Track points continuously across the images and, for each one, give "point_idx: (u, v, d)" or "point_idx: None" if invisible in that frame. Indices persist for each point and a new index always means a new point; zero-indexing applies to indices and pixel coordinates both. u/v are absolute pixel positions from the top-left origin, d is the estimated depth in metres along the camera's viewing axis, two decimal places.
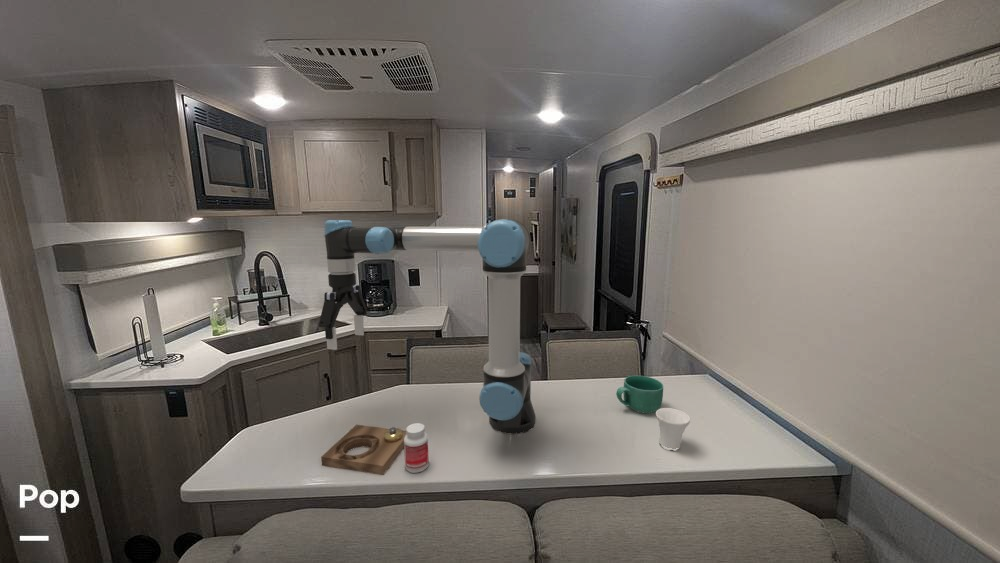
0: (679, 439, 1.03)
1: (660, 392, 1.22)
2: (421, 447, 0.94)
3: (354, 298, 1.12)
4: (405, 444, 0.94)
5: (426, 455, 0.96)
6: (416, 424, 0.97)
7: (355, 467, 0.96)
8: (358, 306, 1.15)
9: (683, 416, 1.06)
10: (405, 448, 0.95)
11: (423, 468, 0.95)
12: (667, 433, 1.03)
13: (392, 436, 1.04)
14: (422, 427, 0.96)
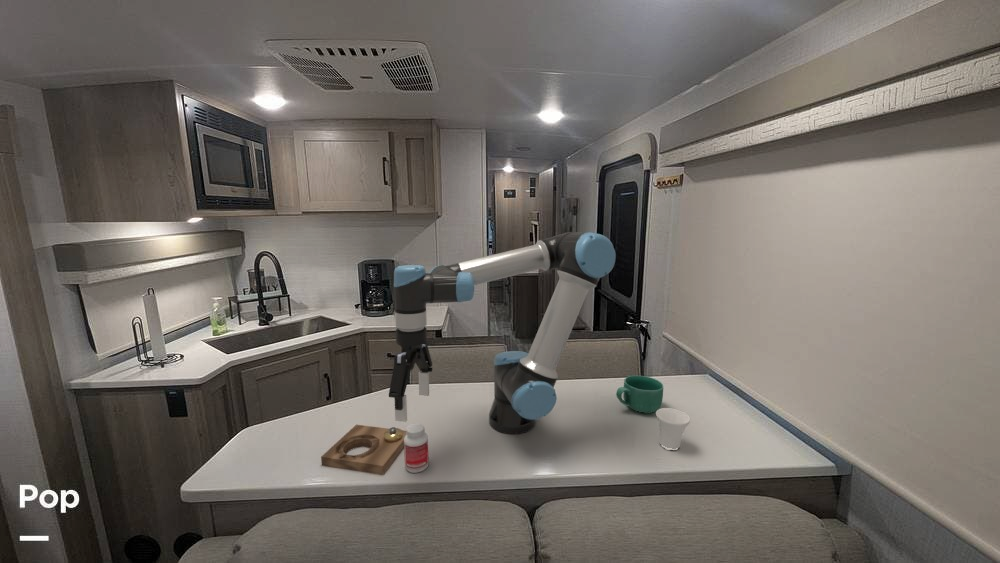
0: (679, 439, 1.03)
1: (660, 392, 1.22)
2: (421, 447, 0.94)
3: (422, 355, 0.95)
4: (405, 444, 0.94)
5: (426, 455, 0.96)
6: (416, 424, 0.97)
7: (355, 467, 0.96)
8: (425, 363, 0.98)
9: (683, 416, 1.06)
10: (405, 448, 0.95)
11: (423, 468, 0.95)
12: (667, 433, 1.03)
13: (392, 436, 1.04)
14: (422, 427, 0.96)
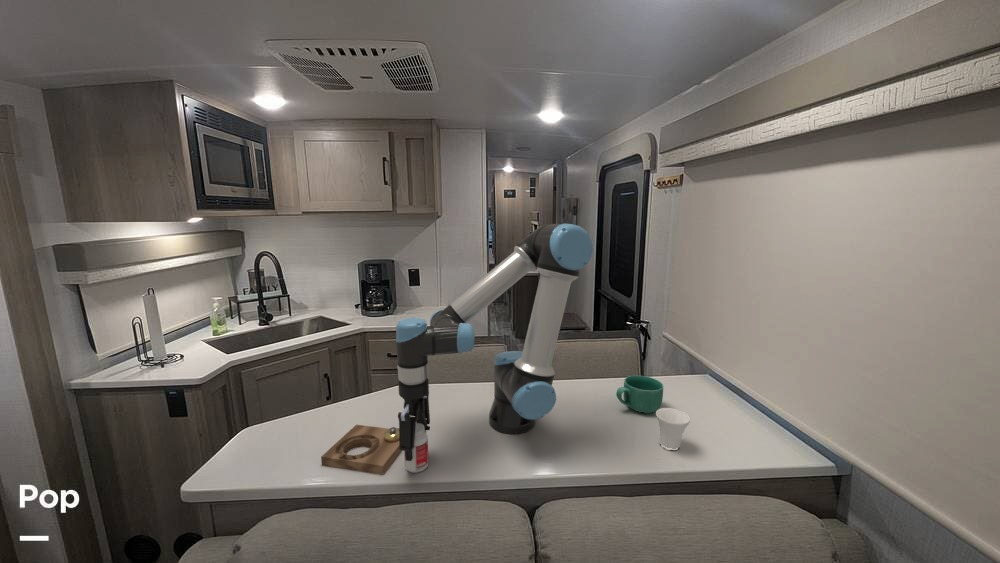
0: (679, 439, 1.03)
1: (660, 392, 1.22)
2: (421, 447, 0.94)
3: (424, 407, 0.97)
4: None
5: (426, 455, 0.96)
6: (416, 424, 0.97)
7: (355, 467, 0.96)
8: (424, 418, 0.98)
9: (683, 416, 1.06)
10: None
11: (423, 468, 0.95)
12: (667, 433, 1.03)
13: (392, 436, 1.04)
14: (422, 427, 0.96)
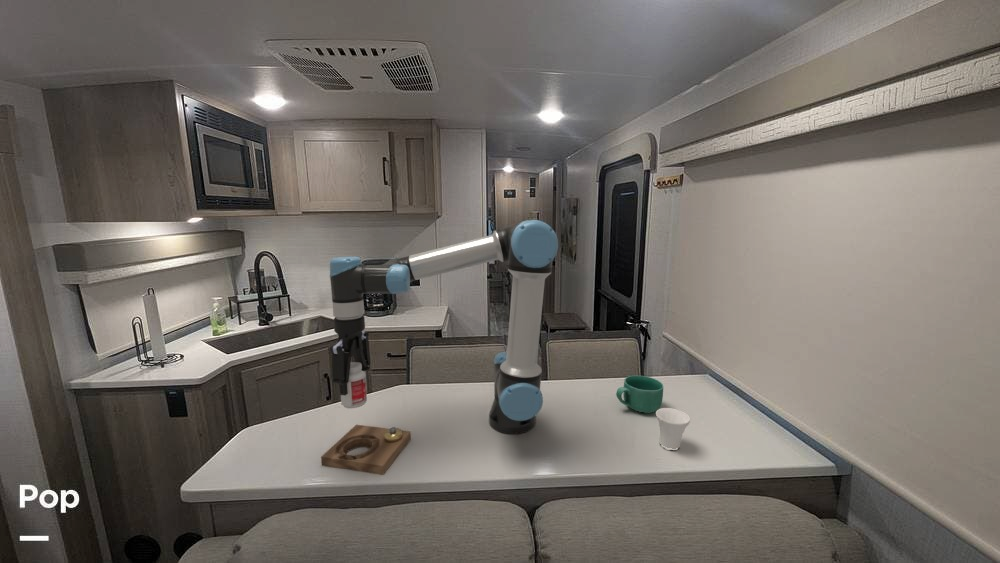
0: (679, 439, 1.03)
1: (660, 392, 1.22)
2: (357, 383, 0.96)
3: (361, 346, 0.99)
4: None
5: (363, 392, 0.98)
6: (353, 363, 0.99)
7: (355, 467, 0.96)
8: (363, 358, 1.01)
9: (683, 416, 1.06)
10: None
11: (359, 404, 0.97)
12: (667, 433, 1.03)
13: (392, 436, 1.04)
14: (359, 364, 0.98)
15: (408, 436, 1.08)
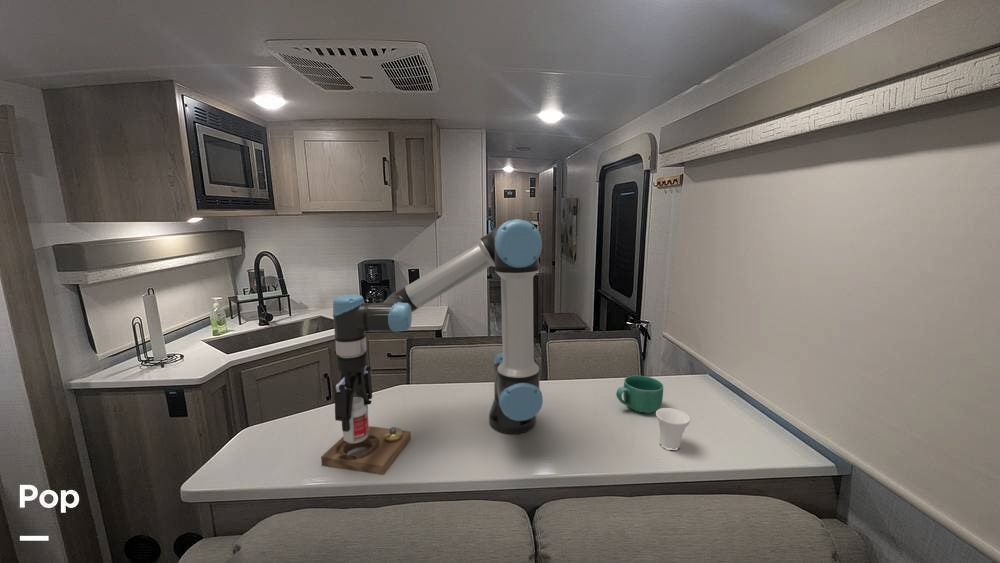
0: (679, 439, 1.03)
1: (660, 392, 1.22)
2: (359, 419, 0.98)
3: (363, 381, 1.00)
4: None
5: (364, 427, 1.00)
6: (355, 398, 1.01)
7: (355, 467, 0.96)
8: (364, 392, 1.02)
9: (683, 416, 1.06)
10: None
11: (361, 439, 0.99)
12: (667, 433, 1.03)
13: (392, 436, 1.04)
14: (361, 400, 1.00)
15: (408, 436, 1.08)
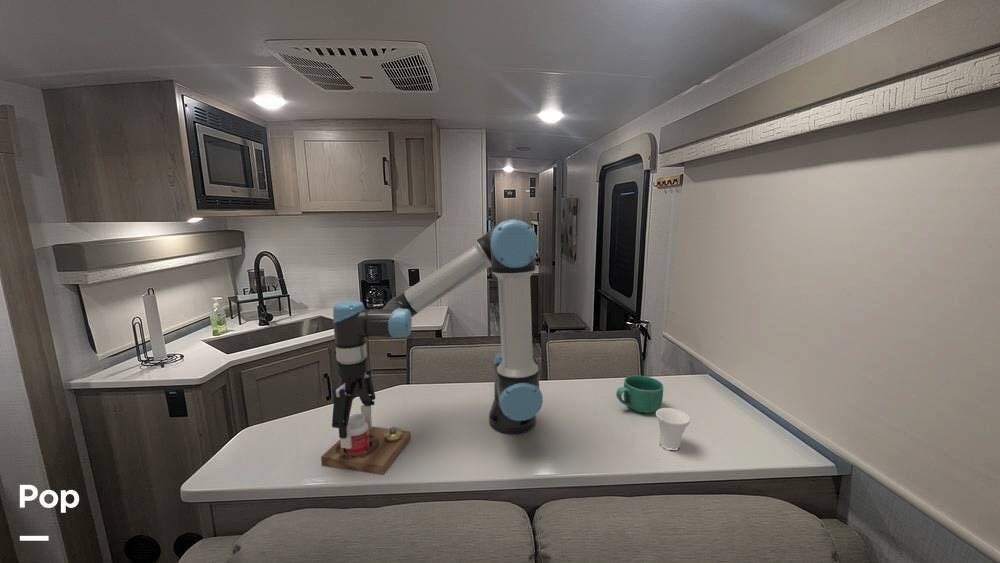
0: (679, 439, 1.03)
1: (660, 392, 1.22)
2: (361, 436, 0.99)
3: (364, 386, 1.01)
4: None
5: (366, 444, 1.01)
6: (357, 415, 1.02)
7: (355, 467, 0.96)
8: (367, 395, 1.03)
9: (683, 416, 1.06)
10: None
11: None
12: (667, 433, 1.03)
13: (392, 436, 1.04)
14: (362, 417, 1.00)
15: (408, 436, 1.08)
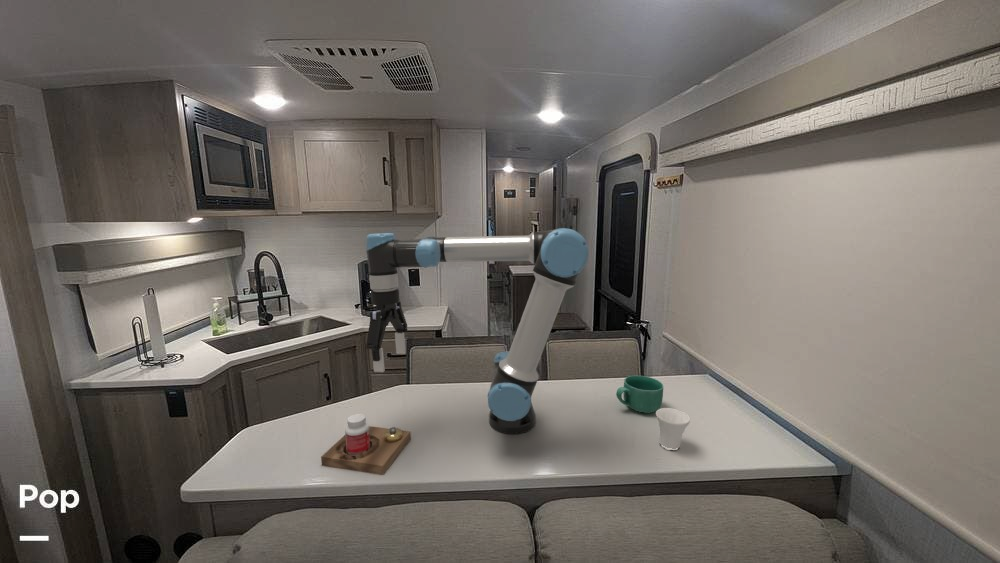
0: (679, 439, 1.03)
1: (660, 392, 1.22)
2: (361, 436, 0.99)
3: (397, 315, 1.06)
4: (346, 433, 0.99)
5: (367, 444, 1.01)
6: (358, 415, 1.02)
7: (355, 467, 0.96)
8: (400, 323, 1.09)
9: (683, 416, 1.06)
10: (346, 437, 1.00)
11: None
12: (667, 433, 1.03)
13: (392, 436, 1.04)
14: (363, 417, 1.01)
15: (408, 436, 1.08)
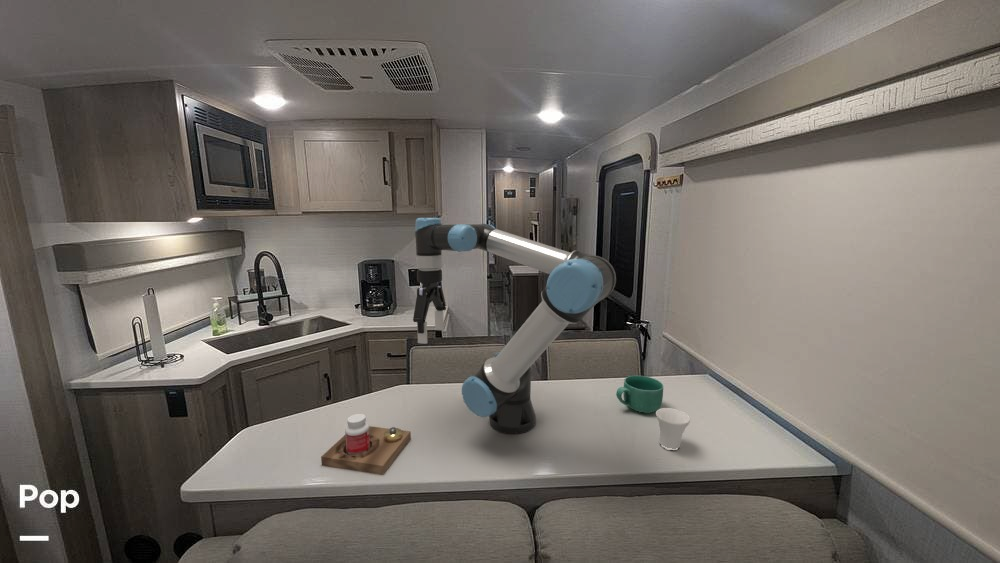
0: (679, 439, 1.03)
1: (660, 392, 1.22)
2: (361, 436, 0.99)
3: (438, 294, 1.15)
4: (346, 433, 0.99)
5: (367, 444, 1.01)
6: (358, 415, 1.02)
7: (355, 467, 0.96)
8: (440, 302, 1.18)
9: (683, 416, 1.06)
10: (346, 437, 1.00)
11: None
12: (667, 433, 1.03)
13: (392, 436, 1.04)
14: (363, 417, 1.01)
15: (408, 436, 1.08)
